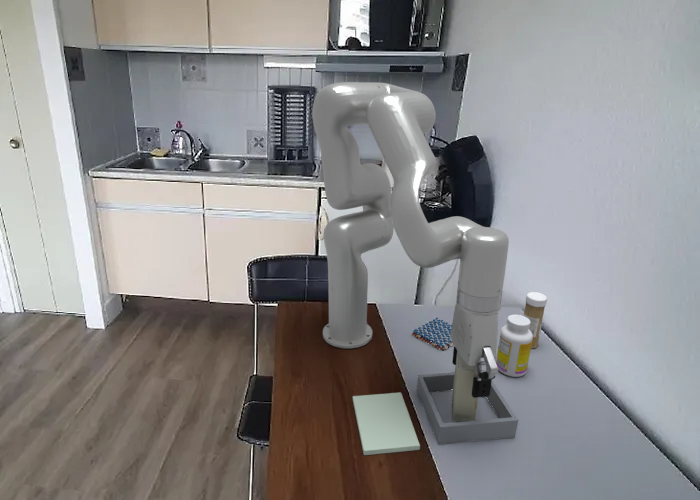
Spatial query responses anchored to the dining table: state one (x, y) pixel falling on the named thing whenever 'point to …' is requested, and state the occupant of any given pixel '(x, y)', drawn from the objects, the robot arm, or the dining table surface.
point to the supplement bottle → (514, 346)
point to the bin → (469, 429)
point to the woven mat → (435, 333)
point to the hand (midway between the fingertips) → (469, 379)
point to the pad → (384, 424)
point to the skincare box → (463, 392)
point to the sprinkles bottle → (535, 314)
